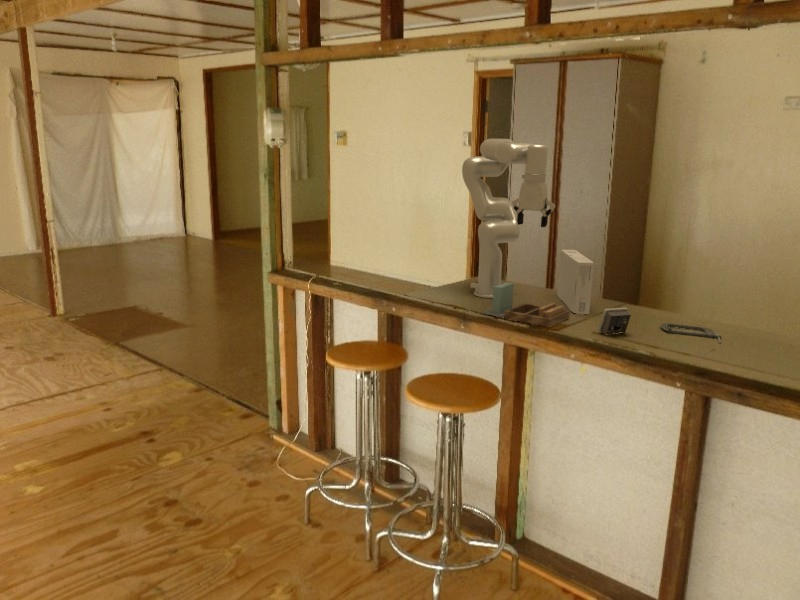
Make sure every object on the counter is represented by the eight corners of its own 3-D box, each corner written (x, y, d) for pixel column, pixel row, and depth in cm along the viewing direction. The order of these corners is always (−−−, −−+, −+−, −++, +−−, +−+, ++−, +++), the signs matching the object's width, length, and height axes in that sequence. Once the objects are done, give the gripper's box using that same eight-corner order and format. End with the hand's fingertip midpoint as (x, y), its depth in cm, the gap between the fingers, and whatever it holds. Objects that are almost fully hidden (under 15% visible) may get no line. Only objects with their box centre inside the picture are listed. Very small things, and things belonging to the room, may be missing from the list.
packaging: (589, 314, 255) (594, 262, 251) (573, 314, 255) (577, 262, 251) (571, 296, 285) (575, 249, 280) (557, 296, 285) (560, 249, 280)
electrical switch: (620, 330, 234) (624, 305, 231) (629, 336, 230) (633, 310, 227) (597, 332, 231) (601, 307, 228) (605, 338, 227) (609, 312, 224)
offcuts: (537, 323, 241) (538, 308, 240) (551, 317, 250) (552, 302, 249) (548, 325, 238) (550, 310, 237) (563, 319, 248) (564, 304, 246)
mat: (481, 314, 252) (481, 312, 252) (501, 306, 265) (501, 305, 265) (502, 318, 247) (502, 316, 247) (522, 310, 259) (522, 308, 259)
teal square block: (492, 312, 253) (493, 286, 250) (505, 307, 261) (506, 282, 258) (499, 313, 251) (500, 287, 249) (512, 308, 259) (513, 283, 256)
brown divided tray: (503, 318, 246) (504, 311, 246) (524, 310, 259) (525, 303, 258) (549, 327, 236) (550, 319, 235) (569, 318, 248) (569, 310, 248)
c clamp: (722, 332, 236) (723, 325, 235) (721, 345, 221) (722, 337, 220) (661, 325, 245) (662, 317, 244) (656, 336, 230) (657, 329, 229)
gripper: (509, 178, 248) (506, 224, 252) (552, 180, 238) (548, 229, 242) (519, 177, 254) (516, 222, 258) (561, 180, 244) (557, 227, 248)
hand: (531, 225), depth 250 cm, fingers open, 9 cm apart
